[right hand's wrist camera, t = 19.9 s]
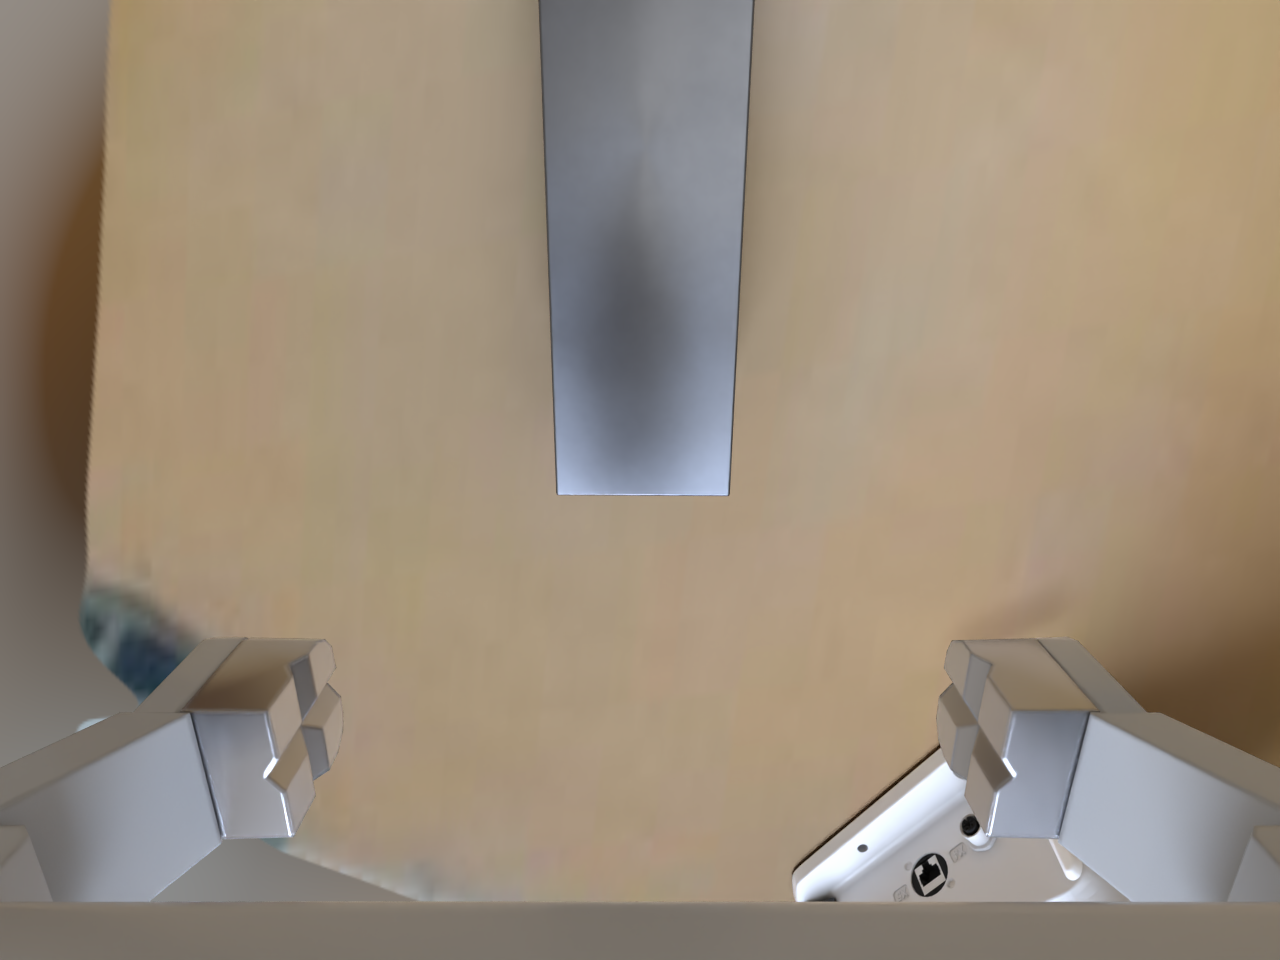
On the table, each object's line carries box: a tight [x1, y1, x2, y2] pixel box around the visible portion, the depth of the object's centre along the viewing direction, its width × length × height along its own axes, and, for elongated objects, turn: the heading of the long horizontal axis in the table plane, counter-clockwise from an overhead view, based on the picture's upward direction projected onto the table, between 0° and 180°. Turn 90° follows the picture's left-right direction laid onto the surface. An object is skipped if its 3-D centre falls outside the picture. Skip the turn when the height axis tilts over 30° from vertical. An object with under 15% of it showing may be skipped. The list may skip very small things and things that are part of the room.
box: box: [539, 0, 755, 496], centre depth 28 cm, size 24×6×9 cm, turn 0°
